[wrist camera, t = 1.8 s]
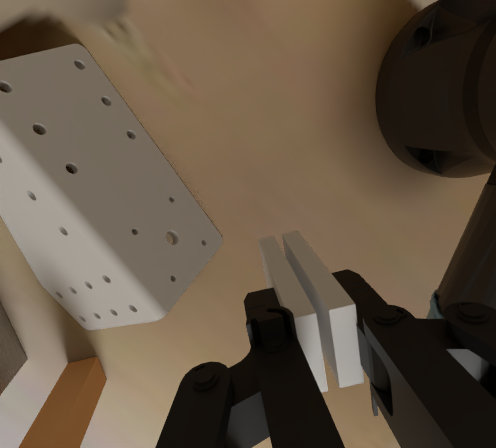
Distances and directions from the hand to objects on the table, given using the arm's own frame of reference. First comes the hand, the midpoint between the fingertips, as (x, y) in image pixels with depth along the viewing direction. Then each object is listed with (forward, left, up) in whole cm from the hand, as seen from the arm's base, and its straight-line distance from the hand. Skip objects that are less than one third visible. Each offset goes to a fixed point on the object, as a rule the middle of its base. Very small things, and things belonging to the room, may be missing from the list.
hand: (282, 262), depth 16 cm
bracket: (+14, -2, -17) cm, 22 cm away
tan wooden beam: (+20, +15, -16) cm, 30 cm away
